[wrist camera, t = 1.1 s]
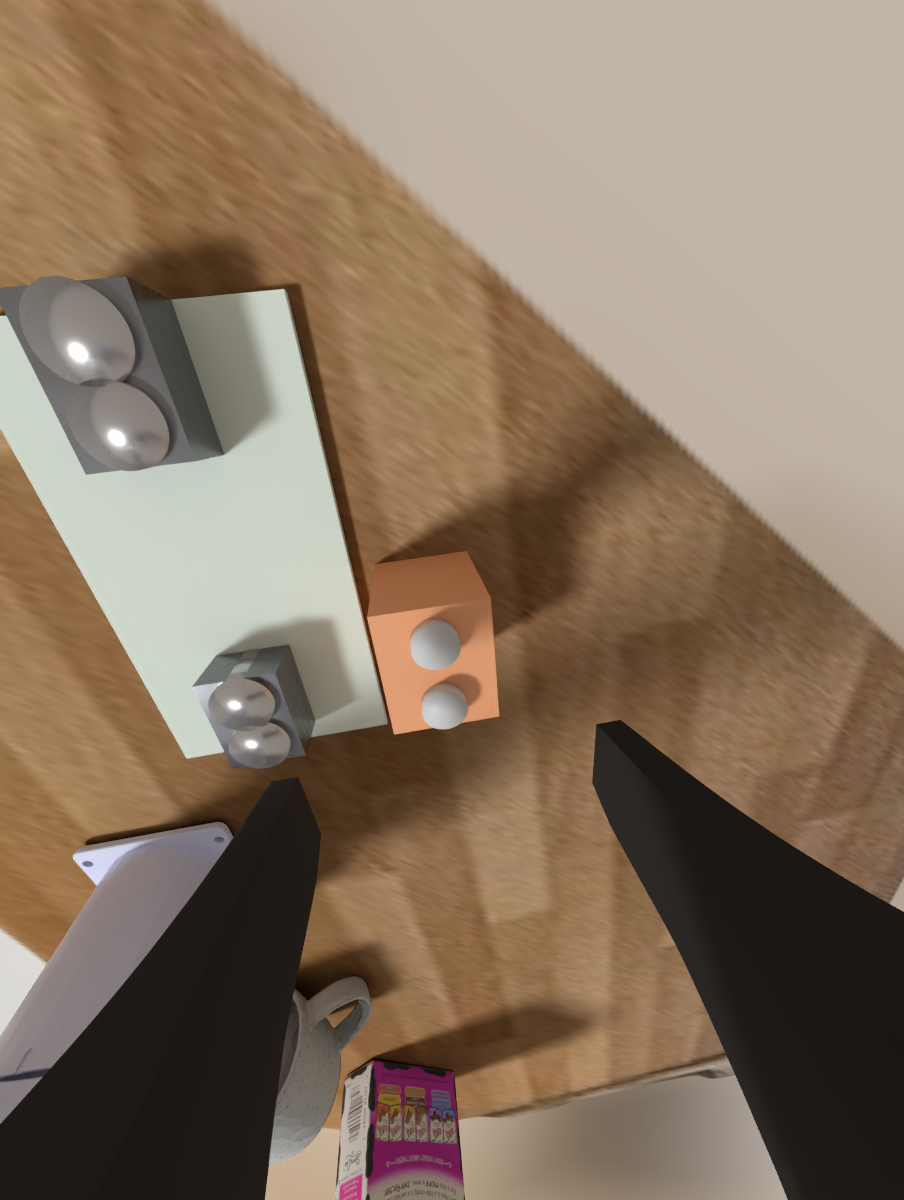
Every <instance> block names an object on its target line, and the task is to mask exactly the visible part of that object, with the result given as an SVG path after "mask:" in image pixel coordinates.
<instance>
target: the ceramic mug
mask: <svg viewBox="0 0 904 1200" xmlns="http://www.w3.org/2000/svg"><path fill="white" fill-rule="evenodd" d="M353 1000H358V1004H357V1005H356V1006H355V1008H354V1009H353V1010H352V1011H351V1013H350V1014H349V1015H348V1016H347V1017H346V1018H345V1019H344V1020H343V1021H342V1022H341V1023H340V1024H339V1025H338V1026H337V1027H335V1028H333V1027H332V1026H331V1024H330V1022H329V1021H328V1020H327V1018H325V1017H326V1016H327V1015H329V1014H330V1013H331V1012H332V1011H334V1010H335V1009H337V1008H339V1007H341V1006H343V1005H345V1004H347V1003H349V1002H350V1001H353ZM371 1008H372V1002H371V999H370V995H369V992H368V988H367V985H366V983H365V981H364V980H363V979H362V978H360V977H357V976H354V977H347V978H344V979H341V980H338V981H336V982H334V983H332V984H331V985H329V986H328V987H326V988H325V989H323V990H322V991H320V992H319V993H317V994H316V995H315V996H313V997H312V998H311V999H310V1000H307V999H306V998H305V997H304V996H303V995H302V994H301V993H300V992H298V991H297V990H296V989H294V994H293V999H292V1004H291V1008H290V1013H289V1019H288V1025H287V1030H286V1036H285V1042H284V1048H283V1056H282V1063H281V1071H280V1078H279V1086H278V1094H277V1101H276V1109H275V1116H274V1124H273V1133H272V1141H271V1150H270V1158H269V1163H277V1162H281V1161H283V1160H286V1159H289V1158H291V1157H293V1156H294V1155H296V1154H298V1153H300V1152H301V1151H302V1150H303V1149H304V1148H306V1147H307V1146H308V1145H309V1144H310V1143H311V1141H312V1140H313V1139H314V1138H315V1137H316V1135H317V1134H318V1133H319V1131H320V1130H321V1128H322V1126H323V1125H324V1123H325V1121H326V1119H327V1117H328V1115H329V1113H330V1111H331V1108H332V1106H333V1103H334V1100H335V1096H336V1092H337V1089H338V1085H339V1079H340V1071H341V1056H340V1052H341V1050H342V1049H343V1048H344V1047H345V1046H347V1045H348V1044H349V1043H350V1041H351V1040H352V1039H353V1038H354V1037H355V1036H356V1035H357V1034H358V1033H359V1032H360V1031H361V1029H362V1028H363V1027H364V1026H365V1024H366V1022H367V1020H368V1018H369V1016H370V1013H371Z"/></svg>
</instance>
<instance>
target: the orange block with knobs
mask: <svg viewBox="0 0 904 1200" xmlns="http://www.w3.org/2000/svg"><path fill="white" fill-rule="evenodd" d="M367 619H368V624H369V628H370V632H371V637H372V641H373V645H374V650H375V654H376V658H377V663H378V667H379V671H380V676H381V680H382V684H383V689H384V693H385V697H386V701H387V706H388V710H389V714H390V719H391V723H392V727H393V732H394V735H395V734H400V733H406V732H412V731H418V730H424V729H429V728H436V729H450V728H453V727H455V726H457V725H459V724H460V723H464V722H470V721H476V720H482V719H487V718H493V717H499V706H498V691H497V677H496V663H495V649H494V634H493V620H492V606H491V597H490V595H489V593H488V592H487V590H486V588H485V586H484V584H483V582H482V580H481V578H480V576H479V574H478V572H477V570H476V568H475V566H474V564H473V562H472V560H471V558H470V556H469V554H468V552H467V551H463V552H456V553H449V554H442V555H435V556H428V557H421V558H414V559H407V560H400V561H393V562H386V563H379V564H375V570H374V576H373V583H372V589H371V595H370V602H369V608H368V614H367Z"/></svg>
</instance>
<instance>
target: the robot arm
mask: <svg viewBox="0 0 904 1200" xmlns="http://www.w3.org/2000/svg"><path fill="white" fill-rule="evenodd" d="M592 783H593V785H594V787H595V790H596V792H597V795H598V797H599V800H600V802H601V805H602V807H603V809H604V812H605V814H606V816H607V818H608V821H609V823H610V825H611V827H612V829H613V831H614V833H615V835H616V837H617V838H618V840H619V842H620V844H621V846H622V847H623V849H624V851H625V853H626V855H627V857H628V858H629V860H630V862H631V864H632V866H633V868H634V869H635V871H636V873H637V875H638V877H639V878H640V880H641V882H642V884H643V886H644V887H645V889H646V891H647V893H648V895H649V896H650V898H651V900H652V902H653V904H654V905H655V907H656V909H657V911H658V913H659V914H660V916H661V918H662V920H663V922H664V924H665V925H666V927H667V929H668V931H669V933H670V935H671V937H672V938H673V940H674V942H675V944H676V946H677V948H678V950H679V952H680V954H681V956H682V958H683V960H684V962H685V964H686V967H687V969H688V971H689V973H690V975H691V977H692V980H693V982H694V984H695V986H696V988H697V991H698V993H699V995H700V997H701V999H702V1001H703V1004H704V1006H705V1008H706V1010H707V1012H708V1014H709V1017H710V1019H711V1021H712V1023H713V1026H714V1028H715V1030H716V1032H717V1035H718V1037H719V1039H720V1041H721V1044H722V1046H723V1048H724V1050H725V1053H726V1055H727V1057H728V1059H729V1062H730V1064H731V1066H732V1068H733V1071H734V1073H735V1075H736V1077H737V1079H738V1082H739V1084H740V1087H741V1089H742V1091H743V1093H744V1096H745V1098H746V1101H747V1103H748V1105H749V1107H750V1110H751V1112H752V1115H753V1117H754V1120H755V1122H756V1124H757V1126H758V1129H759V1131H760V1133H761V1136H762V1138H763V1141H764V1143H765V1145H766V1148H767V1150H768V1152H769V1155H770V1157H771V1160H772V1162H773V1164H774V1166H775V1169H776V1171H777V1174H778V1176H779V1179H780V1181H781V1183H782V1186H783V1188H784V1191H785V1194H786V1196H787V1198H788V1200H904V912H903V911H901V910H899V909H897V908H896V907H894V906H892V905H890V904H888V903H887V902H885V901H883V900H881V899H879V898H878V897H876V896H874V895H872V894H871V893H869V892H867V891H865V890H864V889H862V888H860V887H859V886H857V885H855V884H853V883H852V882H850V881H848V880H847V879H845V878H843V877H842V876H840V875H838V874H837V873H835V872H834V871H832V870H830V869H829V868H827V867H825V866H824V865H822V864H821V863H819V862H817V861H816V860H814V859H812V858H811V857H809V856H808V855H806V854H804V853H803V852H801V851H800V850H798V849H796V848H795V847H793V846H792V845H790V844H789V843H787V842H785V841H784V840H782V839H781V838H779V837H778V836H776V835H775V834H773V833H772V832H770V831H769V830H767V829H766V828H764V827H763V826H761V825H760V824H758V823H757V822H756V821H754V820H753V819H751V818H750V817H748V816H747V815H745V814H744V813H742V812H741V811H739V810H738V809H737V808H735V807H734V806H732V805H731V804H730V803H728V802H727V801H725V800H724V799H723V798H721V797H720V796H719V795H717V794H716V793H715V792H713V791H712V790H711V789H709V788H708V787H706V786H705V785H704V784H702V783H701V782H700V781H698V780H697V779H696V778H694V777H693V776H692V775H690V774H689V773H688V772H686V771H685V770H684V769H682V768H681V767H680V766H679V765H677V764H676V763H675V762H673V761H672V760H671V759H670V758H668V757H667V756H666V755H664V754H663V753H662V752H661V751H659V750H658V749H657V748H656V747H654V746H653V745H652V744H650V743H649V742H648V741H647V740H645V739H644V738H643V737H642V736H640V735H639V734H638V733H637V732H635V731H634V730H633V729H631V728H630V727H629V726H628V725H626V724H625V723H624V722H622V721H621V720H618V721H612V722H607V723H601V724H597V725H596V739H595V753H594V767H593V781H592ZM320 837H321V832H320V830H319V827H318V825H317V822H316V820H315V817H314V815H313V812H312V810H311V808H310V805H309V803H308V800H307V798H306V795H305V793H304V790H303V788H302V785H301V783H300V780H299V778H298V777H297V778H291V779H286V780H280V781H275V782H271V784H270V785H269V786H268V788H267V789H266V790H265V792H264V793H263V795H262V796H261V798H260V799H259V801H258V802H257V803H256V805H255V806H254V808H253V809H252V811H251V812H250V814H249V815H248V817H247V818H246V820H245V821H244V823H243V824H242V826H241V827H240V828H239V830H238V831H237V833H236V834H235V836H234V837H233V835H232V834H231V832H230V830H229V828H228V827H227V825H226V824H224V823H222V822H214V823H208V824H203V825H197V826H192V827H186V828H181V829H175V830H170V831H164V832H159V833H153V834H148V835H142V836H137V837H131V838H126V839H120V840H115V841H109V842H104V843H98V844H93V845H87V846H83V847H80V848H78V849H77V851H76V852H75V853H74V855H73V859H74V860H75V862H76V863H77V864H78V865H79V866H80V867H81V868H82V870H83V871H84V872H85V873H86V874H87V875H88V876H89V877H90V879H91V880H92V881H93V882H94V883H95V884H96V885H97V887H96V888H95V890H94V891H93V893H92V895H91V896H90V898H89V899H88V901H87V902H86V904H85V905H84V907H83V909H82V910H81V912H80V913H79V915H78V916H77V918H76V919H75V921H74V923H73V924H72V926H71V927H70V929H69V930H68V932H67V933H66V935H65V937H64V938H63V940H62V941H61V943H60V944H59V946H58V947H57V949H56V951H55V952H54V954H53V955H52V957H51V958H50V960H49V961H48V963H47V965H46V966H45V968H44V969H43V971H42V972H41V974H40V976H39V977H38V979H37V980H36V982H35V983H34V985H33V986H32V988H31V990H30V991H29V993H28V994H27V996H26V997H25V999H24V1000H23V1002H22V1004H21V1005H20V1007H19V1008H18V1010H17V1011H16V1013H15V1014H14V1016H13V1018H12V1019H11V1021H10V1022H9V1024H8V1025H7V1027H6V1028H5V1030H4V1031H3V1033H2V1035H1V1036H0V1200H265V1192H266V1184H267V1176H268V1167H269V1158H270V1150H271V1141H272V1133H273V1124H274V1116H275V1109H276V1101H277V1094H278V1086H279V1078H280V1071H281V1063H282V1056H283V1048H284V1042H285V1036H286V1030H287V1025H288V1019H289V1013H290V1008H291V1004H292V999H293V994H294V989H295V984H296V979H297V974H298V970H299V965H300V960H301V955H302V950H303V945H304V941H305V936H306V931H307V926H308V921H309V916H310V911H311V906H312V901H313V896H314V891H315V886H316V878H317V869H318V860H319V849H320Z"/></svg>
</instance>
